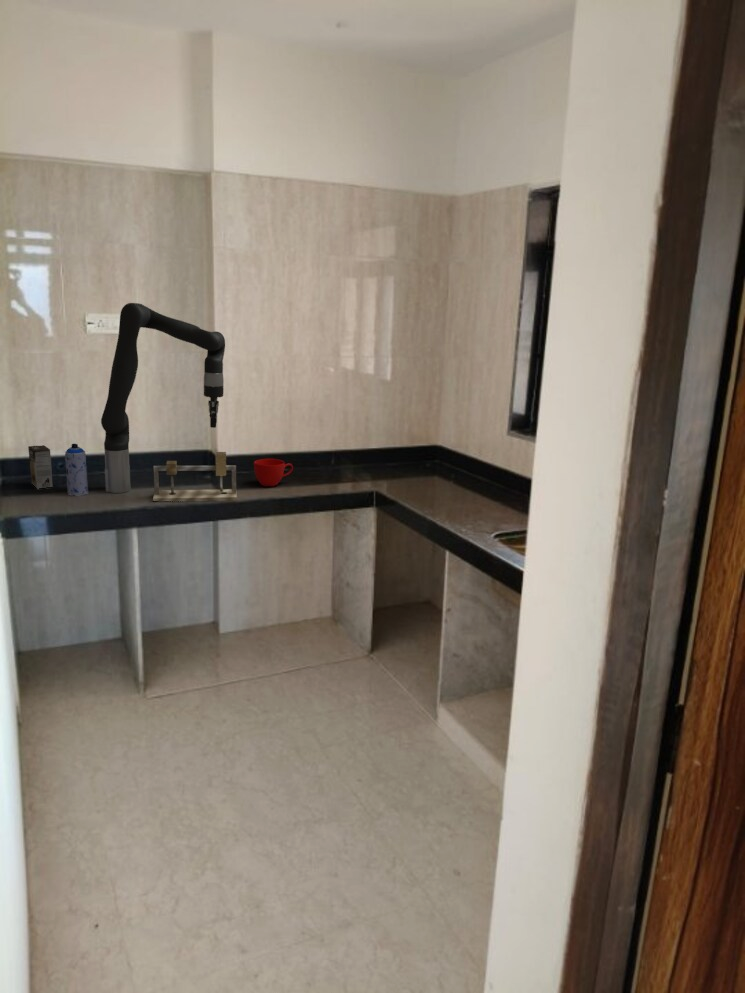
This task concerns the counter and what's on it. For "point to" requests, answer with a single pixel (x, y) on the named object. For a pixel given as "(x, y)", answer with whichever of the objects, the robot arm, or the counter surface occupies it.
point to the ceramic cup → (270, 471)
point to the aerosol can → (76, 470)
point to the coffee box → (40, 466)
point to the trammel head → (221, 467)
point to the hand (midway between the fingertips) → (213, 425)
